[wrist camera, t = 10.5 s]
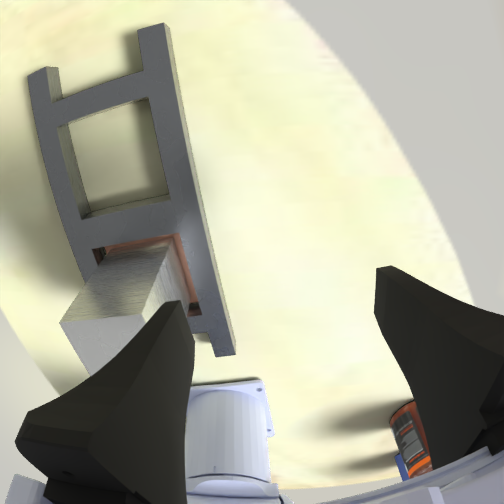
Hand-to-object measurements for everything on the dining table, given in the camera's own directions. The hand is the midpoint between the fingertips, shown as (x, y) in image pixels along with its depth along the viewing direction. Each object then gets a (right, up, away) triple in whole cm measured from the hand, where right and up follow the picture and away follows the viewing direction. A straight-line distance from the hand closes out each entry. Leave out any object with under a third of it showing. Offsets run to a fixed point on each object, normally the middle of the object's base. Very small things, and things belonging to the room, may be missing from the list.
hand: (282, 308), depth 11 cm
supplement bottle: (+17, -17, +20) cm, 31 cm away
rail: (-9, +4, +8) cm, 12 cm away
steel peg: (-8, +1, +9) cm, 12 cm away
